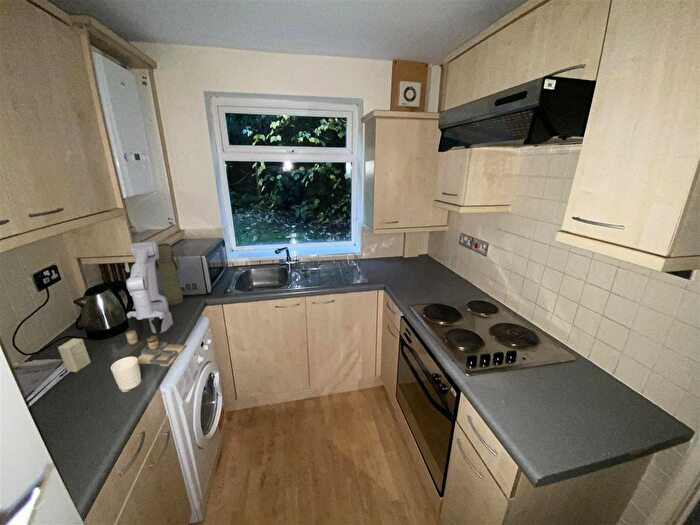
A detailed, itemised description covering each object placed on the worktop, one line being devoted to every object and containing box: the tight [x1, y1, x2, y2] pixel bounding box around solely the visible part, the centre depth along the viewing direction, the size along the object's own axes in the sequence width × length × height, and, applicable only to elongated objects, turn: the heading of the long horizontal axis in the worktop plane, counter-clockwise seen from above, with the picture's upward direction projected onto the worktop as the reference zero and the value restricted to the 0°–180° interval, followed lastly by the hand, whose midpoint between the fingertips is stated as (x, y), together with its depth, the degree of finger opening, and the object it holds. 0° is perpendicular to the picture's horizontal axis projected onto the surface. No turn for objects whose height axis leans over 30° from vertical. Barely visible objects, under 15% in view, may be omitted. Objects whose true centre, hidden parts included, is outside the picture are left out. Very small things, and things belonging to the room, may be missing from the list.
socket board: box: [136, 341, 187, 367], centre depth 126 cm, size 13×15×2 cm
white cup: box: [110, 356, 142, 393], centre depth 108 cm, size 8×8×10 cm
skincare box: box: [57, 337, 92, 373], centre depth 116 cm, size 6×4×12 cm
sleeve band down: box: [125, 329, 140, 347], centre depth 131 cm, size 4×4×6 cm
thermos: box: [155, 242, 184, 306], centre depth 166 cm, size 9×12×35 cm
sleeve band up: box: [146, 335, 159, 351], centre depth 127 cm, size 4×4×6 cm
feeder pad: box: [111, 340, 144, 358], centre depth 129 cm, size 11×6×1 cm, turn 178°
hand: (150, 332), depth 125 cm, fingers open, 7 cm apart
